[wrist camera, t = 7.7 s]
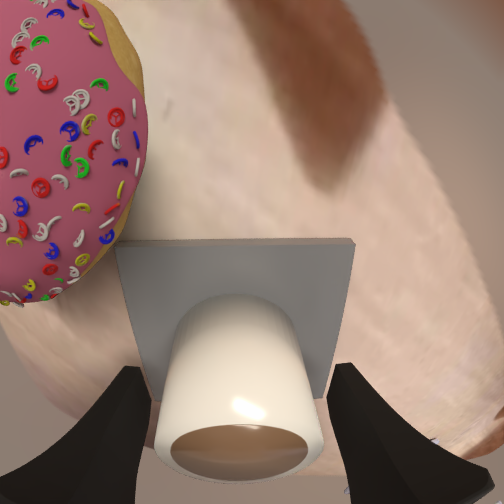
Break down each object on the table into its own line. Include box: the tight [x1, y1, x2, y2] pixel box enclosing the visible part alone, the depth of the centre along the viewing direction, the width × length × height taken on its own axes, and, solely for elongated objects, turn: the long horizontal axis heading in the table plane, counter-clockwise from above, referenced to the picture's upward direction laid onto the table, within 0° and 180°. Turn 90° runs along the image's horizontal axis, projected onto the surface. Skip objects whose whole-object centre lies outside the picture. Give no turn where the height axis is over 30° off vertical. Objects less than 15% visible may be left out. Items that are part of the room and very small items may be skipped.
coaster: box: [114, 238, 356, 401], centre depth 13 cm, size 9×9×1 cm
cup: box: [154, 294, 324, 484], centre depth 10 cm, size 5×5×6 cm
